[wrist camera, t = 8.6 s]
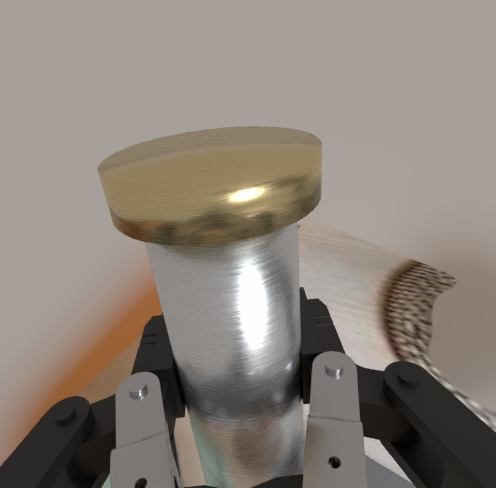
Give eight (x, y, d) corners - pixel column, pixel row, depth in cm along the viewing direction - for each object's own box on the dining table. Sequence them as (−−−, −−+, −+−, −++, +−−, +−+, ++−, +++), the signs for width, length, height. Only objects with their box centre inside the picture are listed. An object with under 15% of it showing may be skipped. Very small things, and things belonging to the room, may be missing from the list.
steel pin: (253, 447, 20) (208, 123, 12) (340, 509, 17) (360, 132, 9) (182, 537, 17) (54, 167, 9) (277, 635, 14) (216, 206, 6)
